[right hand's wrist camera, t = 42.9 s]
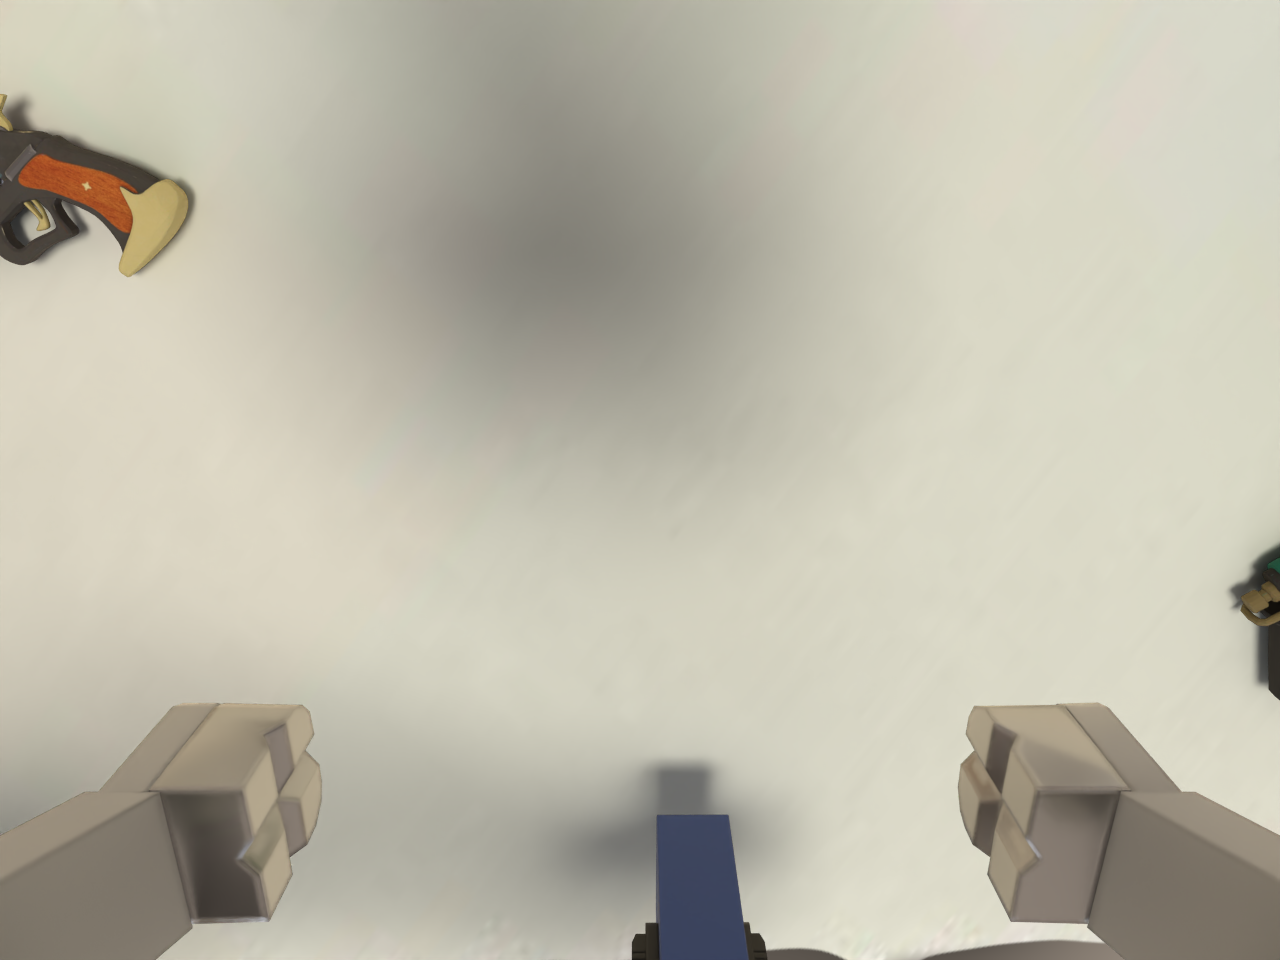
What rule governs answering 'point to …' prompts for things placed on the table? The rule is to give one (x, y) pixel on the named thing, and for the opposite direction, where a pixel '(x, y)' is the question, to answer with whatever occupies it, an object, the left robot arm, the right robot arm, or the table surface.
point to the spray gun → (1268, 618)
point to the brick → (697, 890)
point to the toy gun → (82, 196)
